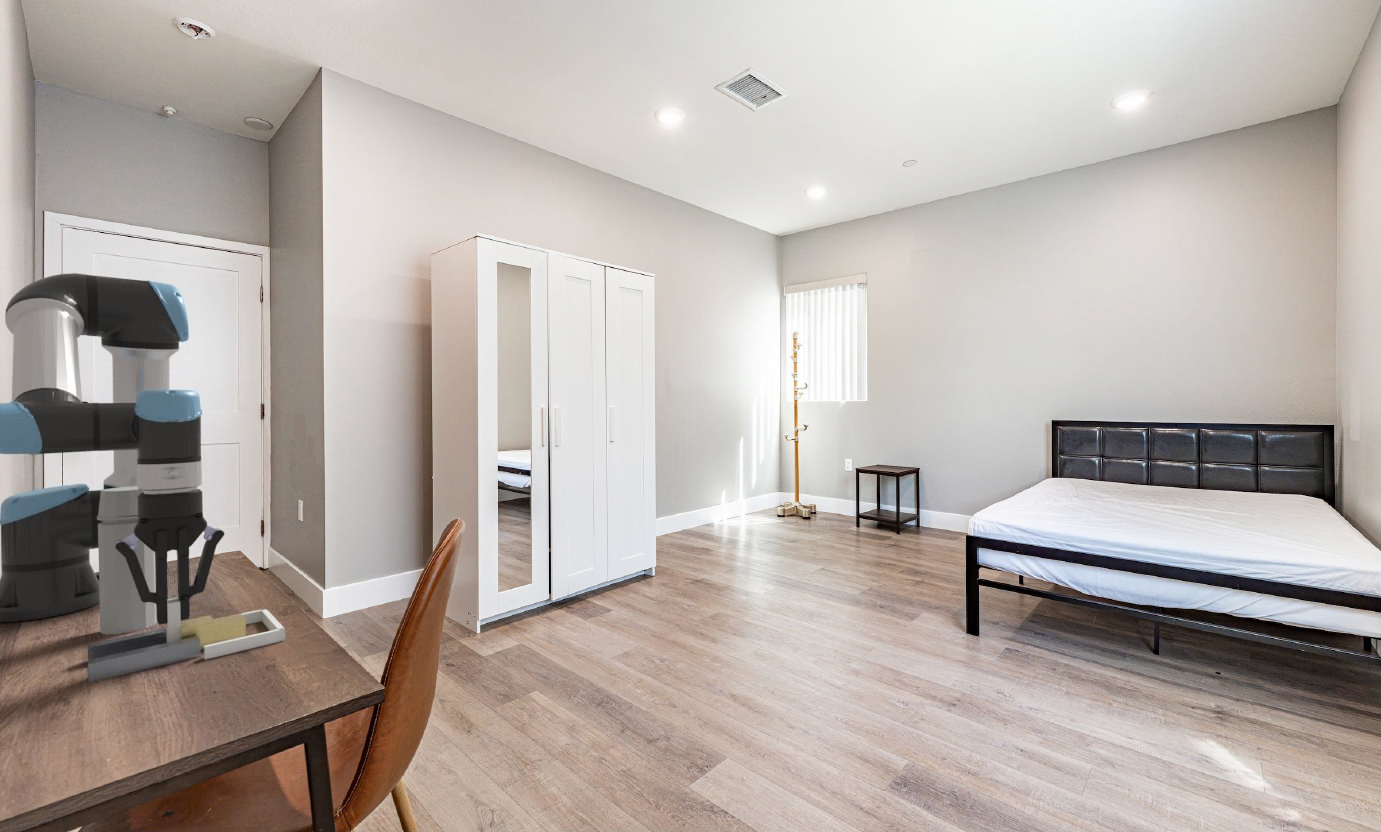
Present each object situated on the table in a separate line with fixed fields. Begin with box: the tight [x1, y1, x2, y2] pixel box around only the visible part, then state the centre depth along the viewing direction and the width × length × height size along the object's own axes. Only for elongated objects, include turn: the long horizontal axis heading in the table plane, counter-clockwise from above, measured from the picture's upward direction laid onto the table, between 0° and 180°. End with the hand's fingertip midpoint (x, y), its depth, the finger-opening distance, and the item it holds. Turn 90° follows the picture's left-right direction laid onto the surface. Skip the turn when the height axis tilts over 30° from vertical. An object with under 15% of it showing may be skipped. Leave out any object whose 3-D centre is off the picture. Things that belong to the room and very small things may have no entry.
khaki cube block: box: [213, 613, 247, 643], centre depth 98 cm, size 4×4×4 cm
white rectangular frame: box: [203, 608, 286, 660], centre depth 99 cm, size 14×10×3 cm
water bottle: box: [97, 486, 158, 636], centre depth 104 cm, size 9×8×25 cm
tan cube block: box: [181, 614, 215, 651], centre depth 95 cm, size 4×4×4 cm
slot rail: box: [86, 627, 201, 683], centre depth 91 cm, size 10×12×4 cm
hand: (173, 642), depth 93 cm, fingers closed
